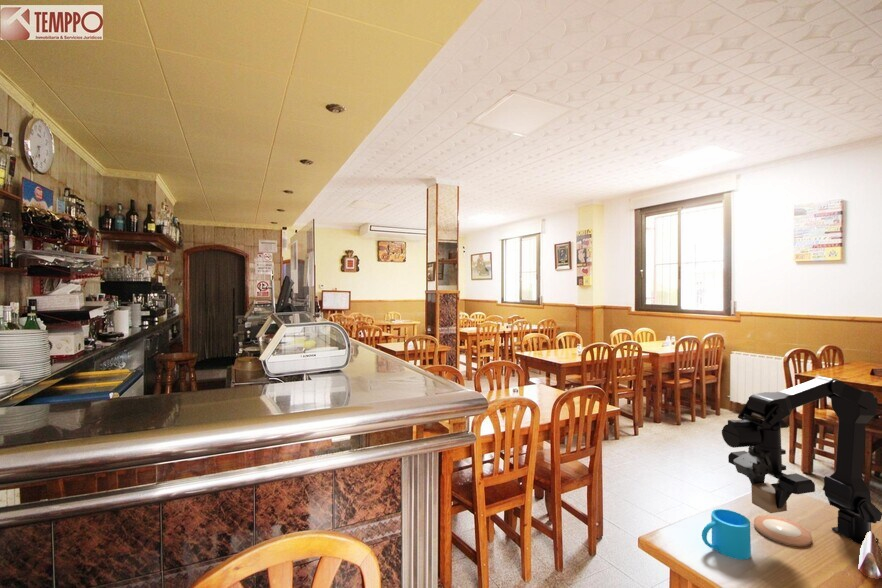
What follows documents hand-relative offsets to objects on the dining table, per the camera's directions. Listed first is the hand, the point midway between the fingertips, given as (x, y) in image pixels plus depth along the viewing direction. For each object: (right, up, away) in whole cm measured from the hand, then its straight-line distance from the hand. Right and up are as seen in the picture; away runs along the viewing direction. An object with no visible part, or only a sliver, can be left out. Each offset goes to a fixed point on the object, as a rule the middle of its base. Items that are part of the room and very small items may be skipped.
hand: (769, 502), depth 104 cm
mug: (-13, -11, -2) cm, 18 cm away
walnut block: (0, -1, 0) cm, 1 cm away
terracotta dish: (+7, -10, +4) cm, 13 cm away
